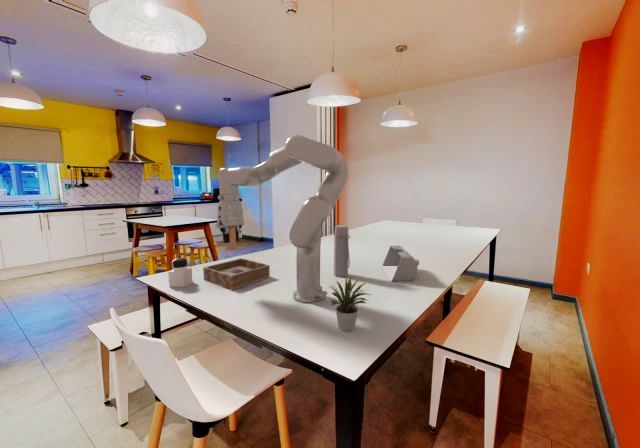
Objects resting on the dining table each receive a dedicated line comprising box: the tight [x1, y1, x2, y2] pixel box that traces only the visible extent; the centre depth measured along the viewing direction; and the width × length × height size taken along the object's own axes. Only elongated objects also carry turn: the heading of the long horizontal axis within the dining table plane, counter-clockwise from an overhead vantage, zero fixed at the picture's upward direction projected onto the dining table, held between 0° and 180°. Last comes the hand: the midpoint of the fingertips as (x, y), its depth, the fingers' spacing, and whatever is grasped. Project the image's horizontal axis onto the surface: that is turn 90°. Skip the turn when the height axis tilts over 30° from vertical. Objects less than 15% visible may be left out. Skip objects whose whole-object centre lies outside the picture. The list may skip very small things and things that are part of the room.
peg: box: [225, 226, 237, 251], centre depth 119 cm, size 4×4×10 cm
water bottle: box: [333, 224, 351, 278], centre depth 140 cm, size 9×8×25 cm
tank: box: [382, 245, 420, 282], centre depth 144 cm, size 25×16×12 cm, turn 178°
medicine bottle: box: [167, 257, 193, 288], centre depth 128 cm, size 7×7×12 cm
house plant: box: [329, 277, 372, 332], centre depth 88 cm, size 14×14×16 cm
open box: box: [202, 257, 270, 291], centre depth 137 cm, size 22×22×6 cm
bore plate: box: [219, 266, 252, 276], centre depth 137 cm, size 14×14×2 cm
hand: (231, 241), depth 119 cm, fingers closed on peg, 4 cm apart
